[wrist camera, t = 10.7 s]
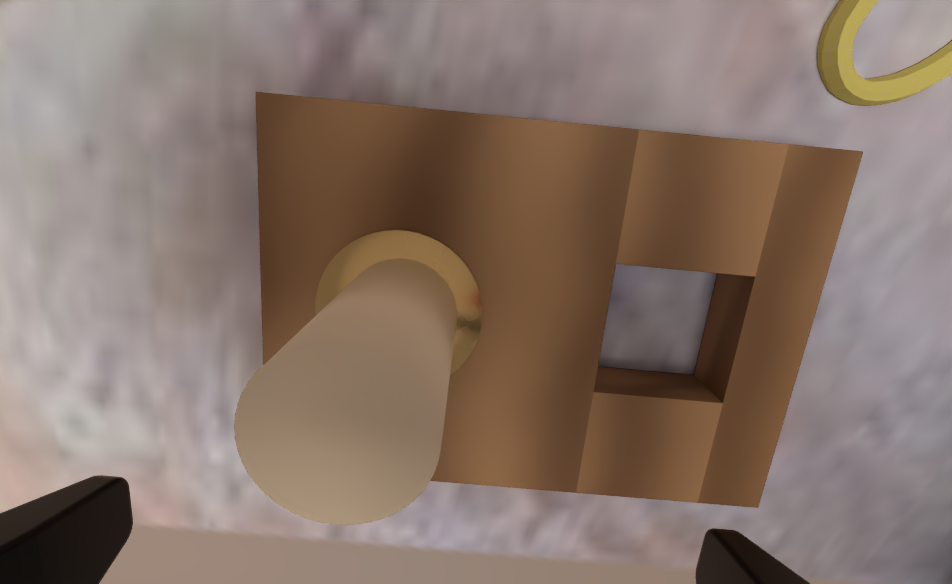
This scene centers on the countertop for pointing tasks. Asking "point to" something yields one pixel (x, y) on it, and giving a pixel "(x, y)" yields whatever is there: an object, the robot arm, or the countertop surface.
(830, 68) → the key
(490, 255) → the walnut holder
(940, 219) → the countertop surface
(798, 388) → the countertop surface
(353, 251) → the brass disc
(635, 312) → the countertop surface
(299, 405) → the ivory candle
